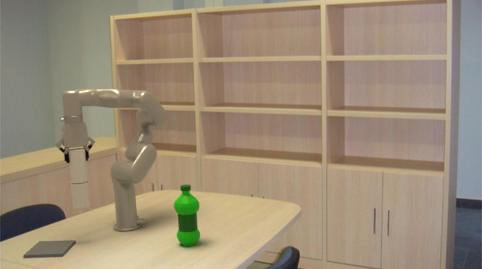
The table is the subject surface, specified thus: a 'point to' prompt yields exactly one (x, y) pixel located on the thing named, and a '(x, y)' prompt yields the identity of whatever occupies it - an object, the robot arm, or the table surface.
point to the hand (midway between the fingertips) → (77, 161)
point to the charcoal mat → (50, 249)
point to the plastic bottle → (187, 217)
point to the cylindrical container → (78, 178)
